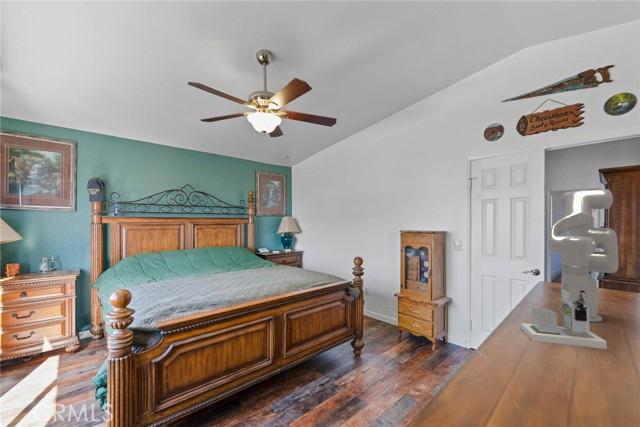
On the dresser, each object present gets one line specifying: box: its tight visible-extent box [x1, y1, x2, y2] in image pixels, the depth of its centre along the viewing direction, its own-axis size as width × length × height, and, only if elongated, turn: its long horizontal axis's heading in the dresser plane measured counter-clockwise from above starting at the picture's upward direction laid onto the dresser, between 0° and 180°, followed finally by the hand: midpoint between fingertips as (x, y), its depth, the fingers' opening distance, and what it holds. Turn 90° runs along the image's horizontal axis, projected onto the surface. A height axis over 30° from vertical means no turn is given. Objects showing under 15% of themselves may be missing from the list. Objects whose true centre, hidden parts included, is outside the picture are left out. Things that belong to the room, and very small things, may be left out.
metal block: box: [531, 307, 559, 335], centre depth 110 cm, size 6×6×10 cm
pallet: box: [520, 322, 608, 350], centre depth 109 cm, size 12×22×4 cm, turn 72°
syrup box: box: [561, 289, 591, 333], centre depth 107 cm, size 6×6×14 cm
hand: (575, 317), depth 107 cm, fingers closed on syrup box, 6 cm apart
